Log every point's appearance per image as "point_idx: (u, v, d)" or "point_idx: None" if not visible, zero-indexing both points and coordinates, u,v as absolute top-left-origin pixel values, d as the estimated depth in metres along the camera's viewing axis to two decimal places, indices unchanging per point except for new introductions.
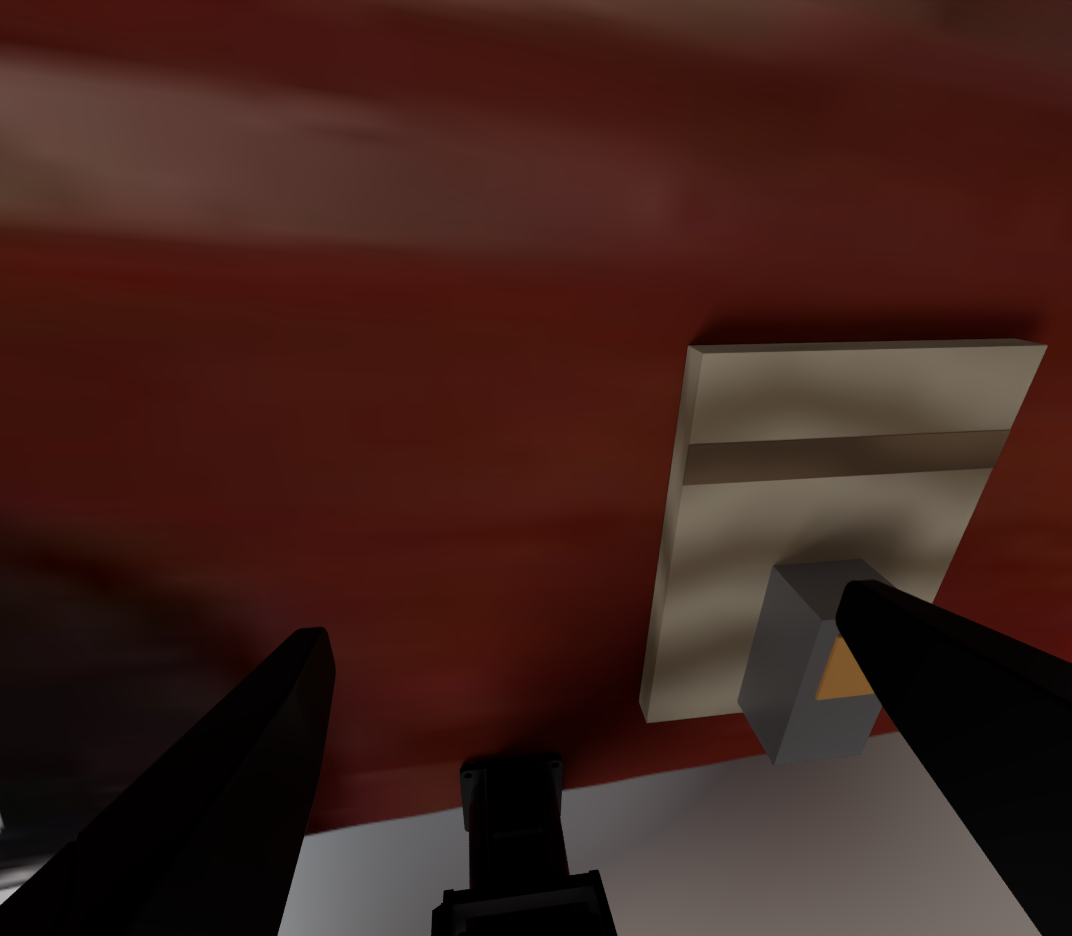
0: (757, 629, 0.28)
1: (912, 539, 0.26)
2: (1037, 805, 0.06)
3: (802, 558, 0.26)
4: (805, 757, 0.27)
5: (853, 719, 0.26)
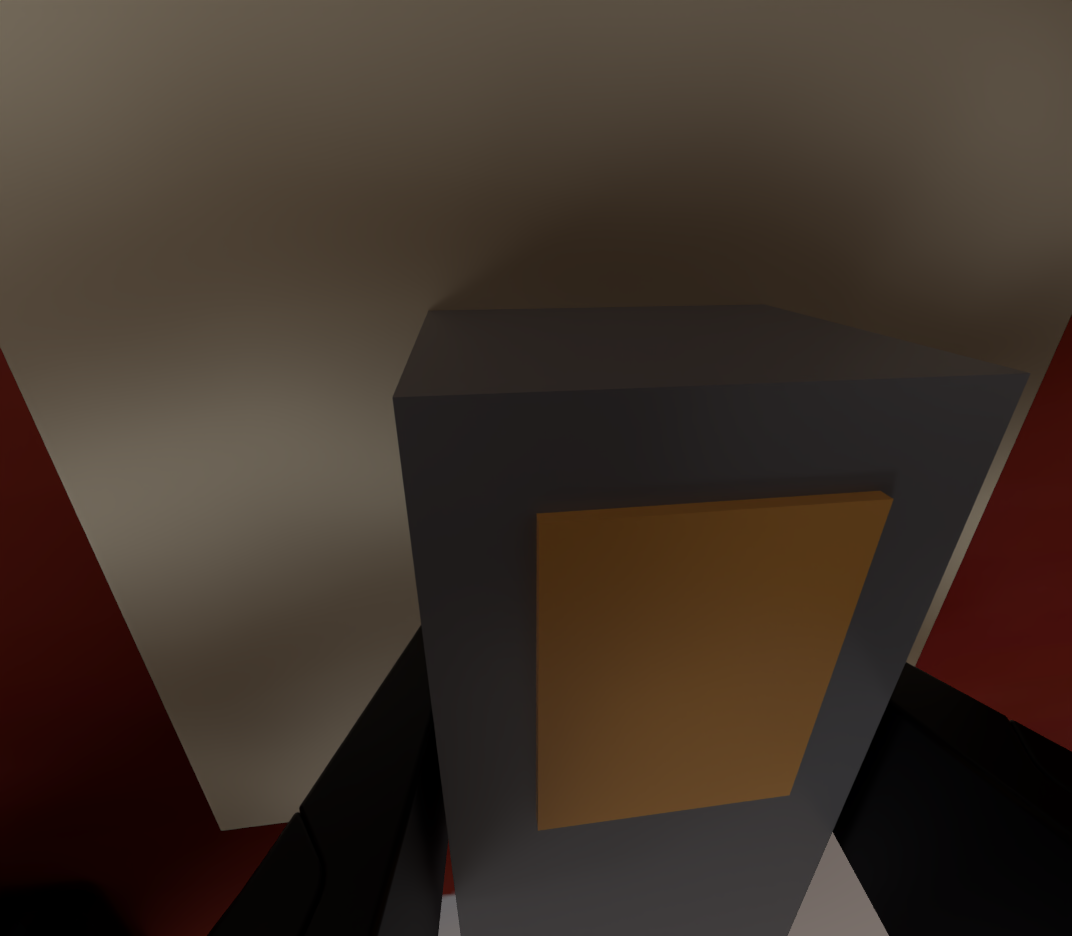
0: None
1: (939, 231, 0.07)
2: (895, 826, 0.06)
3: (539, 285, 0.07)
4: None
5: (728, 877, 0.07)
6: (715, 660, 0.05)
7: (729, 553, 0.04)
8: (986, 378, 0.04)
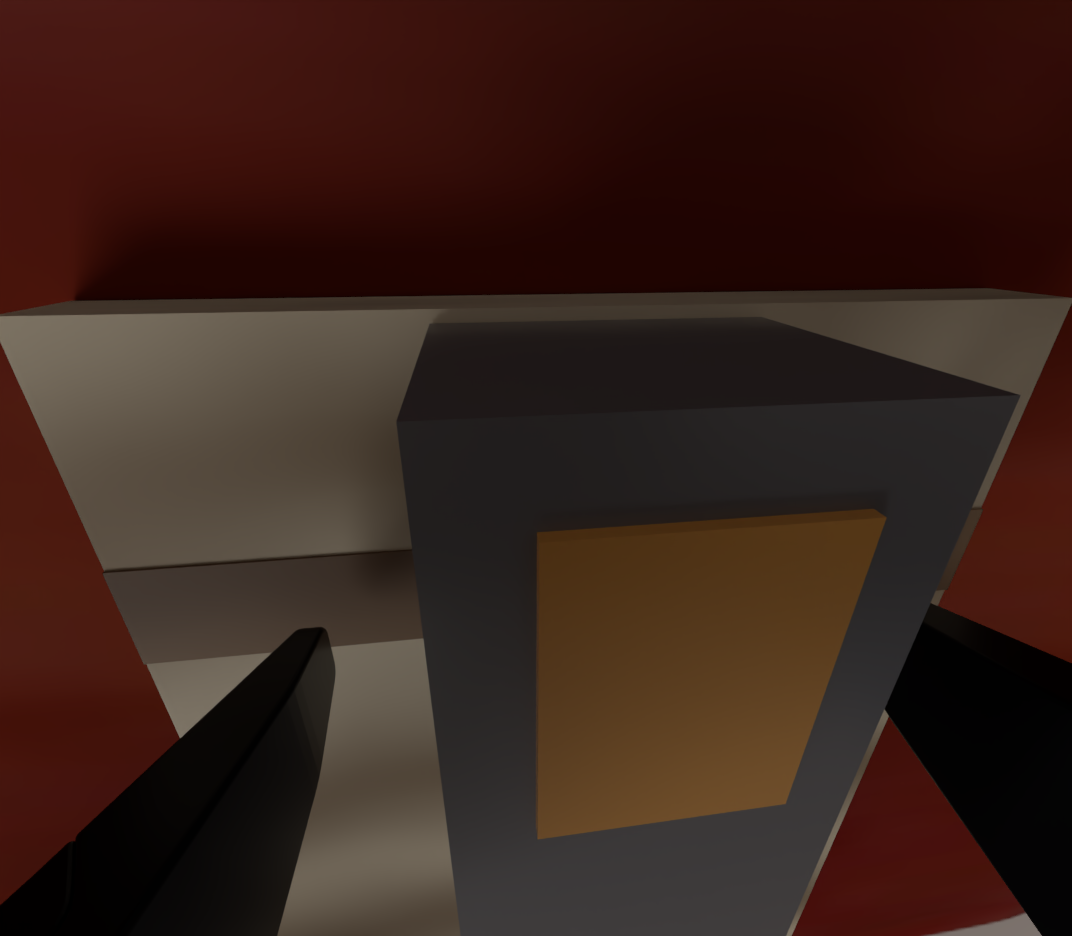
0: None
1: None
2: (1037, 805, 0.06)
3: None
4: None
5: (725, 884, 0.07)
6: (712, 672, 0.05)
7: (725, 570, 0.04)
8: (977, 400, 0.04)
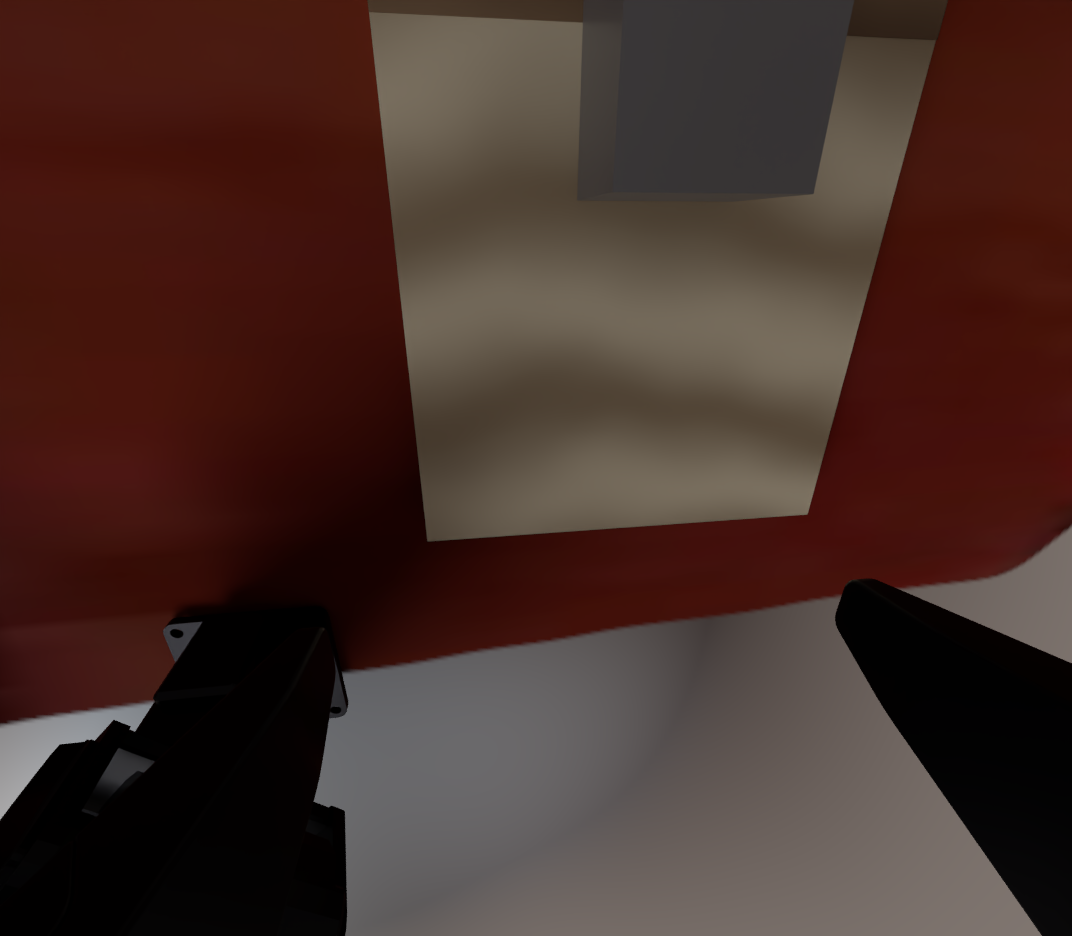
0: None
1: (810, 195, 0.16)
2: (1037, 805, 0.06)
3: (625, 219, 0.16)
4: (685, 172, 0.12)
5: (789, 33, 0.11)
6: None
7: None
8: None
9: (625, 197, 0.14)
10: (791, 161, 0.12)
